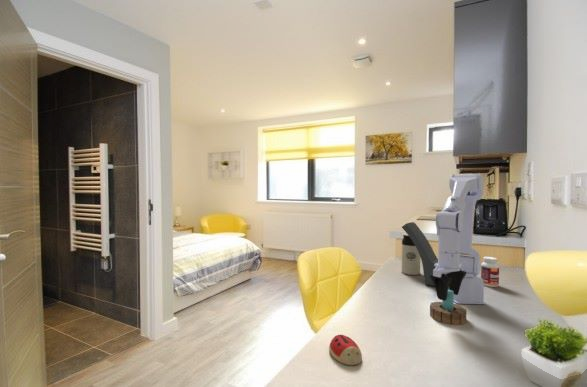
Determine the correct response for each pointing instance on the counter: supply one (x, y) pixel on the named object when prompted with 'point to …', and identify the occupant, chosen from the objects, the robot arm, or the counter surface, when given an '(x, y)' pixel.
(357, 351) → the ladybug figurine
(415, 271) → the travel mug
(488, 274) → the pill bottle
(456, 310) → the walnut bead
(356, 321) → the counter surface
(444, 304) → the capsule peg
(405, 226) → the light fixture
